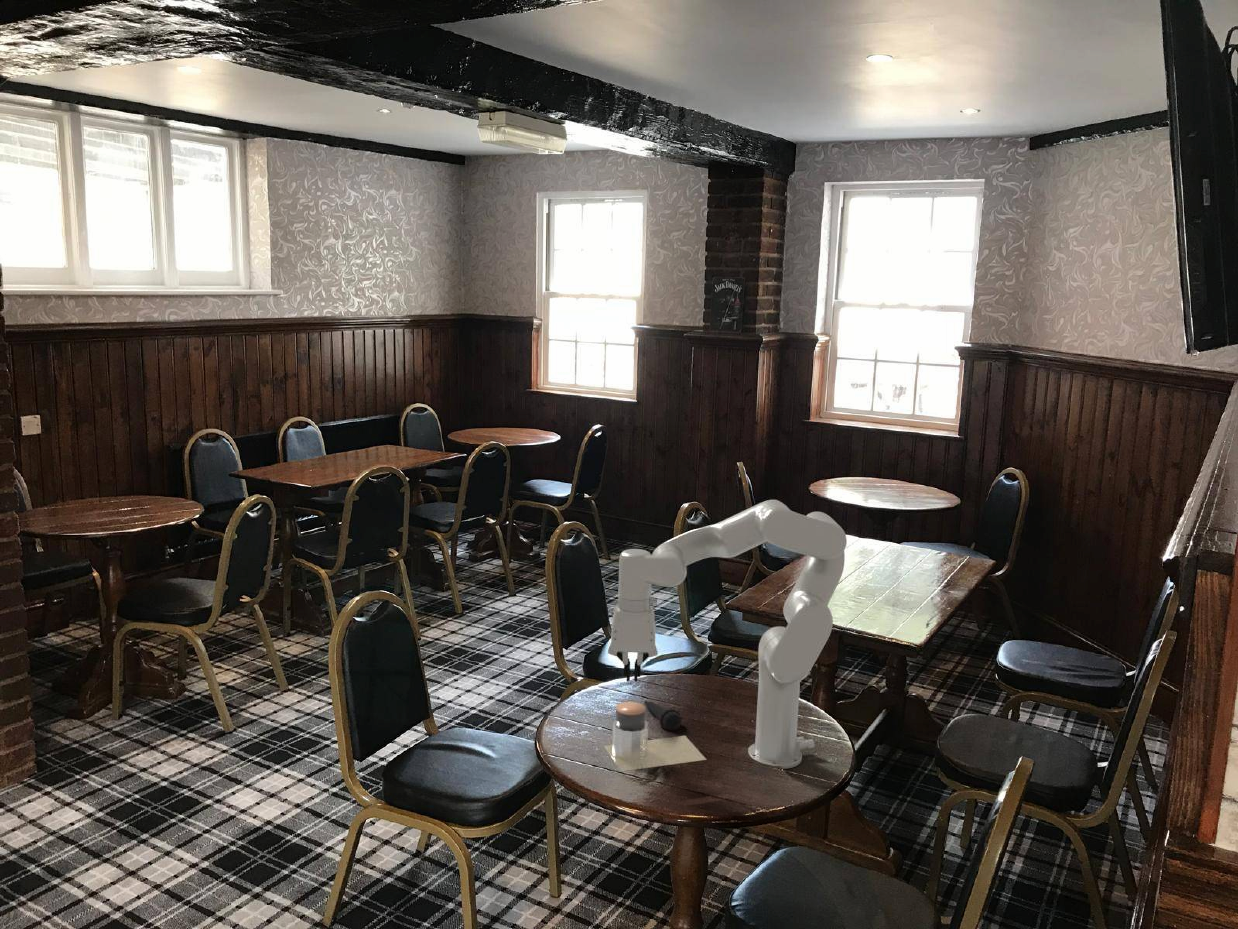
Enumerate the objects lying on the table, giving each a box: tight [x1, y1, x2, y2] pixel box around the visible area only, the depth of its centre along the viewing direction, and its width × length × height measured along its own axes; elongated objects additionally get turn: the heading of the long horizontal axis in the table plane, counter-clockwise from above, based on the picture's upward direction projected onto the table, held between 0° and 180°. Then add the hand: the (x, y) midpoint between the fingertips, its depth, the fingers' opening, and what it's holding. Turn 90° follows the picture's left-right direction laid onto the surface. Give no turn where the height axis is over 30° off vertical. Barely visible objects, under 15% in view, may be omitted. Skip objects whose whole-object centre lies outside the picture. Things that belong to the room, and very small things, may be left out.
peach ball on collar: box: [615, 701, 646, 730], centre depth 231 cm, size 7×7×7 cm
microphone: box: [644, 700, 682, 732], centre depth 253 cm, size 6×6×20 cm
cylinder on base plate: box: [603, 719, 707, 772], centre depth 232 cm, size 21×13×8 cm, turn 109°
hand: (631, 679), depth 229 cm, fingers closed
